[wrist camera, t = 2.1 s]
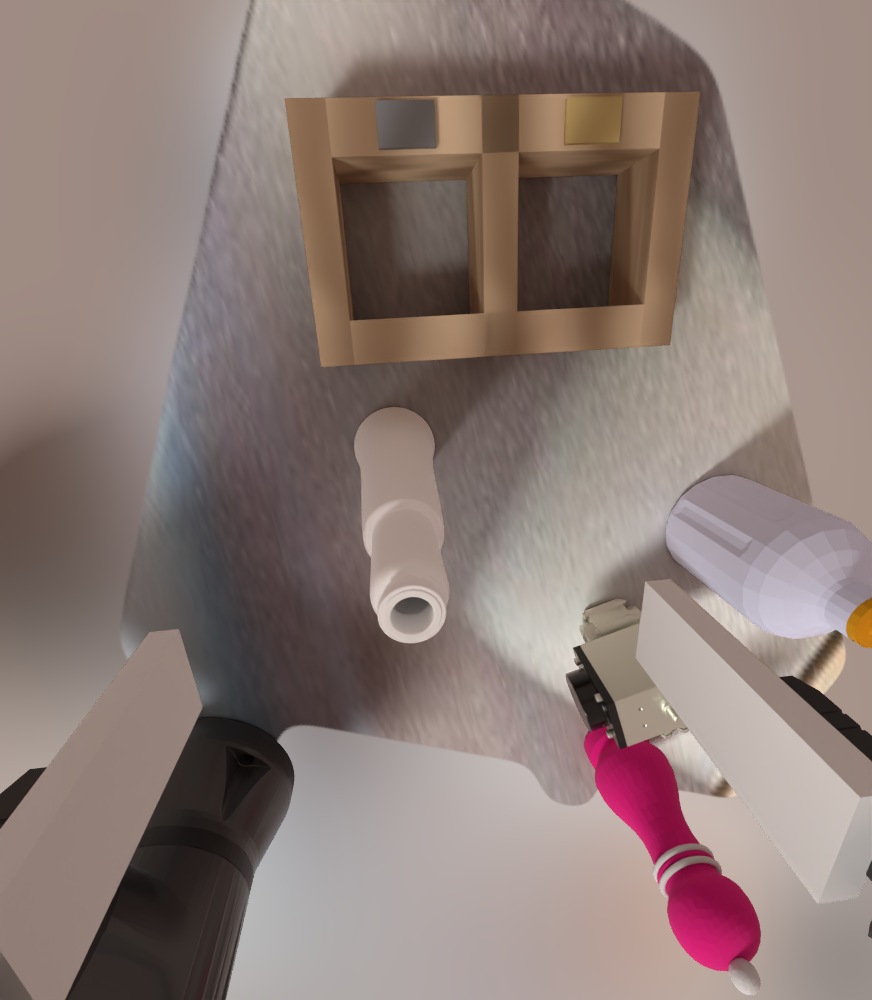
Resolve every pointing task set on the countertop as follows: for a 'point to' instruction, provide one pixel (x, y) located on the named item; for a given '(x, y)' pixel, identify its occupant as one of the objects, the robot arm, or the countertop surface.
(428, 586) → the cosmetic bottle
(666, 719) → the pneumatic valve
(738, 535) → the soap bottle
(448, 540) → the countertop surface
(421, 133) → the wooden compartment tray
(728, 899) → the pepper mill
